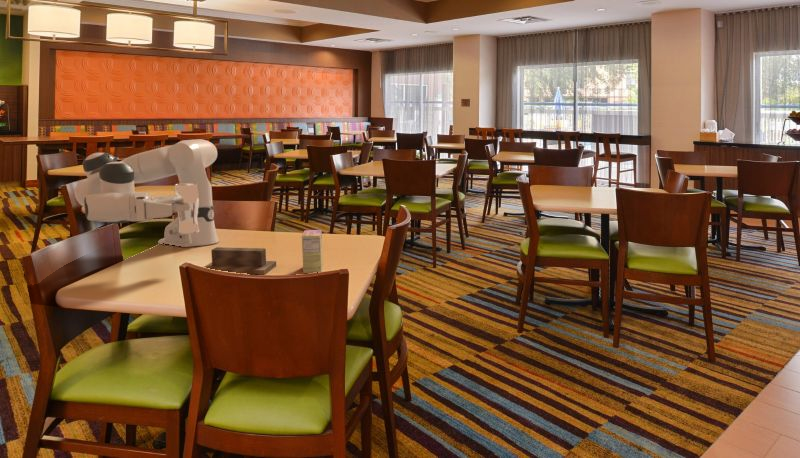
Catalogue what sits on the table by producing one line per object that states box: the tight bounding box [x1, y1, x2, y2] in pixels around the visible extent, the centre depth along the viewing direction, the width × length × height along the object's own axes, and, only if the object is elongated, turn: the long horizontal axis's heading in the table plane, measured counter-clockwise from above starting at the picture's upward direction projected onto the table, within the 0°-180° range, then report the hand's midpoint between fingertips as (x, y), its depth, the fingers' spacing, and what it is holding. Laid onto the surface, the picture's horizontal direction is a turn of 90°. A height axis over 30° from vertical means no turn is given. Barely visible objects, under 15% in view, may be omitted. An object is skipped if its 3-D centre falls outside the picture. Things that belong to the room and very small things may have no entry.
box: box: [301, 229, 324, 274], centre depth 192 cm, size 10×6×12 cm, turn 5°
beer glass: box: [174, 182, 199, 234], centre depth 190 cm, size 7×7×15 cm
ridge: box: [203, 246, 277, 276], centre depth 192 cm, size 20×12×6 cm, turn 84°
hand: (190, 205), depth 190 cm, fingers closed on beer glass, 7 cm apart
